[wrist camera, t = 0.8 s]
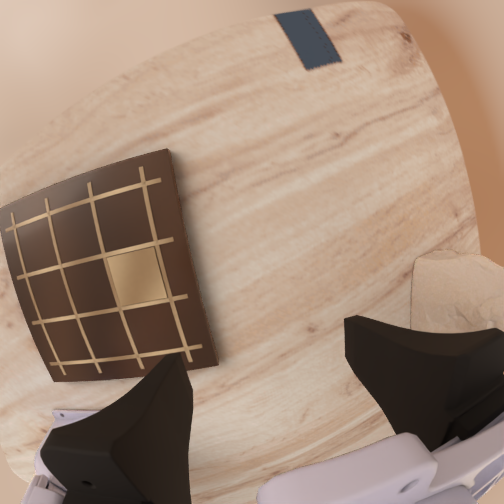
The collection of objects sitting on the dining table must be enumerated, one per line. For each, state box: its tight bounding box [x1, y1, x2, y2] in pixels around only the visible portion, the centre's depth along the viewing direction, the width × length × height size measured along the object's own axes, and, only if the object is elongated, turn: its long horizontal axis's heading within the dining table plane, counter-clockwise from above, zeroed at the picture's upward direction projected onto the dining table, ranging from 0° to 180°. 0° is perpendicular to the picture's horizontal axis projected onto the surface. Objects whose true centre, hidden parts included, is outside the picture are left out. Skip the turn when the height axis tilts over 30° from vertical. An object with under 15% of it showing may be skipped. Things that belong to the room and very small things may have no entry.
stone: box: [411, 249, 504, 333], centre depth 17 cm, size 10×5×12 cm, turn 179°
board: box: [0, 149, 219, 382], centre depth 19 cm, size 16×16×1 cm
